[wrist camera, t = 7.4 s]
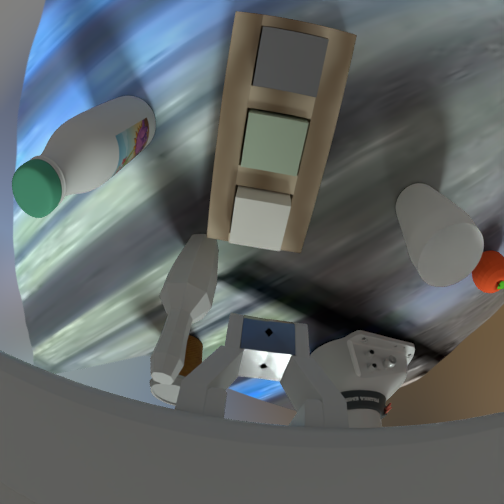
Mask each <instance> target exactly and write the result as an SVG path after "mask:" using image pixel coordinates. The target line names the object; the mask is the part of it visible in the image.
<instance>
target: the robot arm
mask: <svg viewBox="0 0 504 504" xmlns="http://www.w3.org/2000/svg"><path fill="white" fill-rule="evenodd" d="M414 352H415V347H414V344H413V343H409V342H405V341H401V340H397V339H393V338H389V337H386V336H382V335H378V334H374V333H370V332H366V331H362V330H357V331H355V332H353V333H351V334H349V335H347V336H346V337H344V338H341V339H337V340H334V341H331V342H328V343H326V344H324V345H322V346H320V347H318V348H317V349H316V350H315V351H313V352H312V354H311V355H310V352H309V337H308V326H307V324H302V323H293V322H287V321H279V320H272V319H263V318H258V317H252V316H247V315H244V316H243V315H240V314H235V313H231V314H230V317H229V323H228V329H227V335H226V341H225V346H220V347H219V348H218V349H217V350H216V351H214V352H213V353H212V354H211V355H210V356H209V357H208V358H207V359H205V360H204V361H203V362H202V363H201V364H200V365H199V366H198V367H196V368H195V369H194V370H193V371H192V372H191V373H190V374H188V375H187V376H186V377H185V378H184V379H183V380H182V382H181V386H180V390H179V394H178V398H177V402H176V406H175V409H170V408H166V407H161V406H157V405H153V404H149V403H145V402H141V401H137V400H134V399H130V398H126V397H123V396H119V395H116V394H112V393H109V392H106V391H102V390H99V389H96V388H93V387H90V386H86V385H84V384H81V383H78V382H75V381H72V380H70V379H67V378H64V377H61V376H59V375H56V374H54V373H51V372H48V371H46V370H43V369H41V368H39V367H36V366H34V365H31V364H29V363H27V362H24V361H22V360H20V359H18V358H15V357H13V356H11V355H9V354H7V353H5V352H2V351H0V504H504V412H501V413H496V414H491V415H486V416H481V417H475V418H470V419H463V420H456V421H449V422H442V423H434V424H424V425H413V426H399V427H382V425H381V419H382V418H384V417H385V416H386V415H387V412H388V411H389V410H390V409H391V408H392V407H390V406H391V403H389V404H388V405H387V406H385V402H386V400H387V399H388V398H389V397H390V396H391V395H393V393H394V392H395V391H396V390H397V389H398V388H399V387H400V386H401V385H402V383H403V382H404V380H405V378H406V376H407V365H408V364H409V362H410V361H411V359H412V357H413V355H414ZM238 376H243V377H252V378H260V379H267V380H274V381H280V383H281V385H282V387H283V389H284V390H285V392H286V394H287V396H288V397H289V399H290V401H291V403H292V404H293V406H294V408H295V410H296V411H297V414H296V415H295V417H294V418H293V420H292V421H291V423H290V424H289V425H288V426H285V425H274V424H264V423H254V422H247V421H246V422H245V421H239V420H232V419H225V418H224V414H225V406H226V397H227V392H226V389H227V388H228V387H229V386H230V385H231V384H232V383H233V382H234V380H235V379H236V378H237V377H238ZM389 407H390V408H389Z"/></svg>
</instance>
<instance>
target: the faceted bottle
mask: <svg viewBox="0 0 504 504" xmlns="http://www.w3.org/2000/svg"><path fill="white" fill-rule="evenodd" d="M218 252H219V250H218V245H217V241H216V239H213V238H207V234H193V235H192V236H191V238H190V239H189V241H188V242H187V244H186V245H185V247H184V248H183V250H182V251H181V253H180V254H179V256H178V258H177V259H176V261H175V263H174V264H173V266H172V268H171V270H170V272H169V273H168V276H167V278H166V281H165V283H164V285H163V288H162V290H161V293H160V295H159V296H160V299H161V301H162V304H163V306H164V308H165V311H166V313H167V318H166V321H165V324H164V327H163V330H162V333H161V336H160V338H159V340H158V343H157V345H156V347H155V349H154V351H153V353H152V356H151V358H150V359H151V377H152V378H153V380H154V381H156V382H159V383H161V384H168V385H171V384H172V383H173V382H174V380H175V379H176V377H177V376H178V374H179V373H180V371H181V369H182V368H183V366H184V360H185V352H186V345H187V340H188V336H189V332H190V328H191V325H192V324H193V323H195V322H197V321H200V320H202V319H203V318H204V317H205V315H206V314H207V313H208V311H209V310H210V309H211V307H212V302H213V298H214V294H215V289H216V285H217V269H218Z"/></svg>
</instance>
